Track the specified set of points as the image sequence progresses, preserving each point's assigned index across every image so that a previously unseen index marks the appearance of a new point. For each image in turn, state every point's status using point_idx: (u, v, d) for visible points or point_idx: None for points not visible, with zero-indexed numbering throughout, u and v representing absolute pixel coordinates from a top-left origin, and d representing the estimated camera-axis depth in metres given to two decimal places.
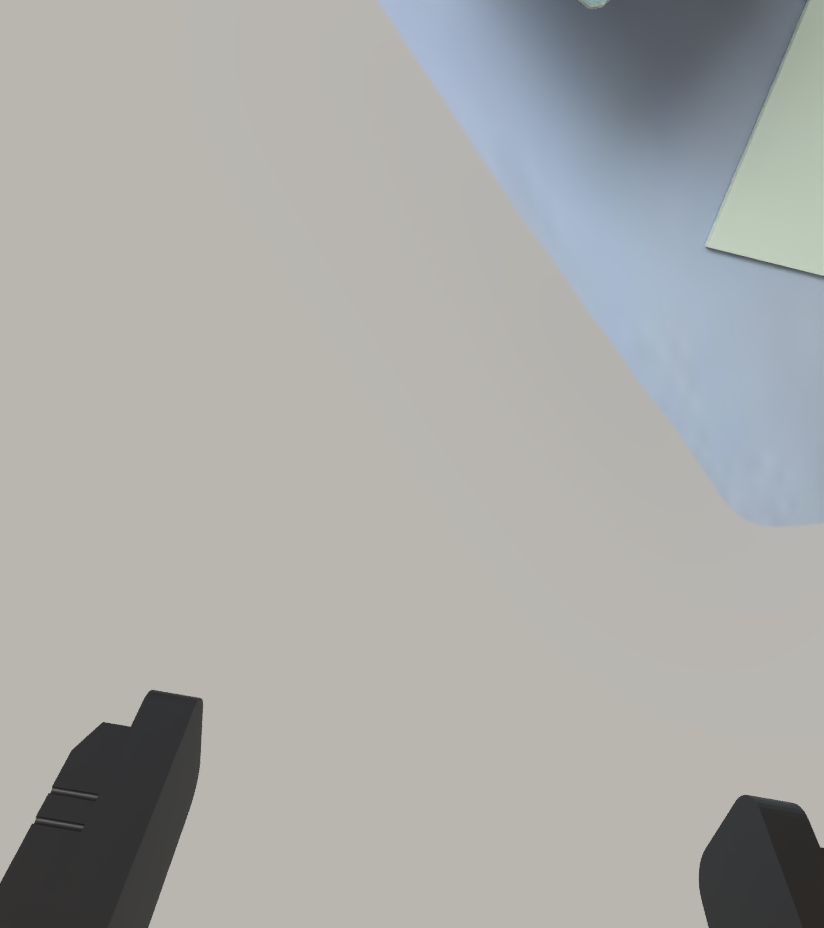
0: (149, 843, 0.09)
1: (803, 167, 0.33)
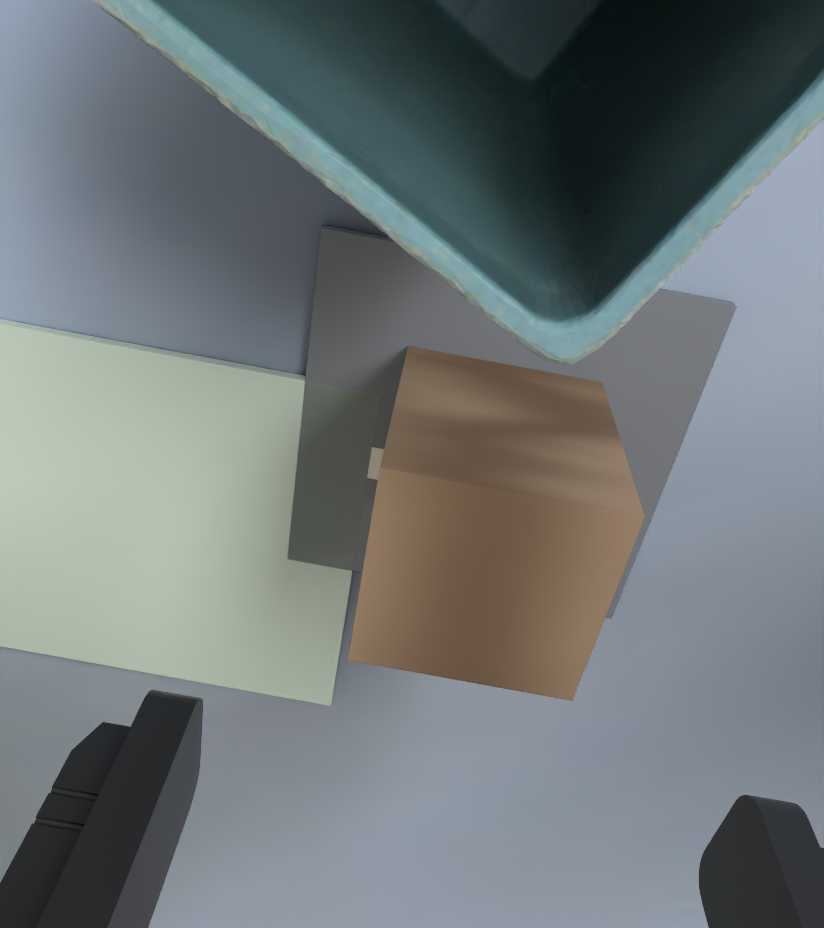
0: (149, 843, 0.09)
1: (87, 425, 0.21)
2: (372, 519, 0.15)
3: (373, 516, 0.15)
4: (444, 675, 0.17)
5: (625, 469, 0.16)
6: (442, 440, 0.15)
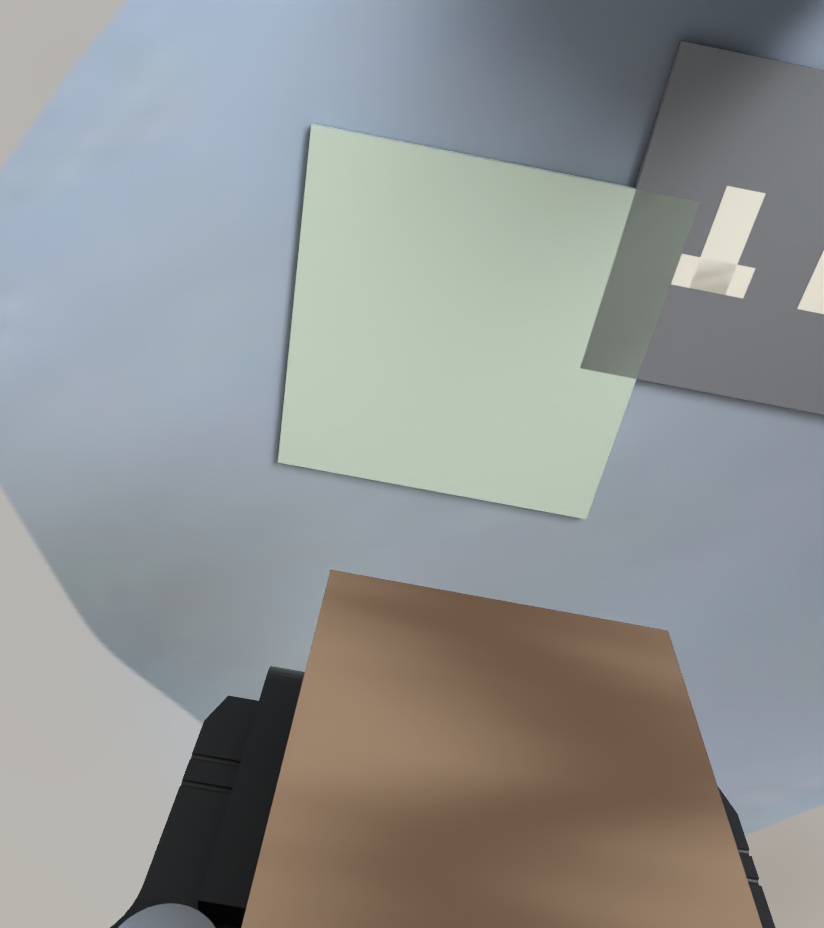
0: None
1: (429, 236, 0.24)
2: None
3: None
4: None
5: None
6: (372, 892, 0.07)
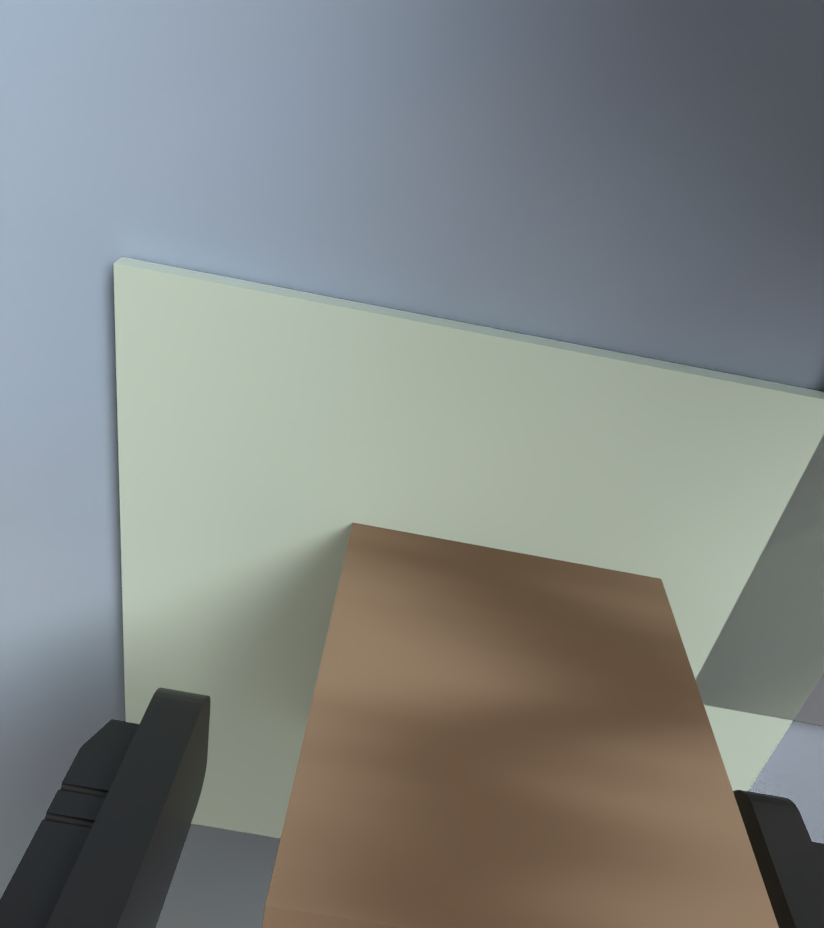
0: (158, 839, 0.09)
1: (386, 481, 0.12)
2: None
3: None
4: None
5: (737, 827, 0.08)
6: (399, 783, 0.08)
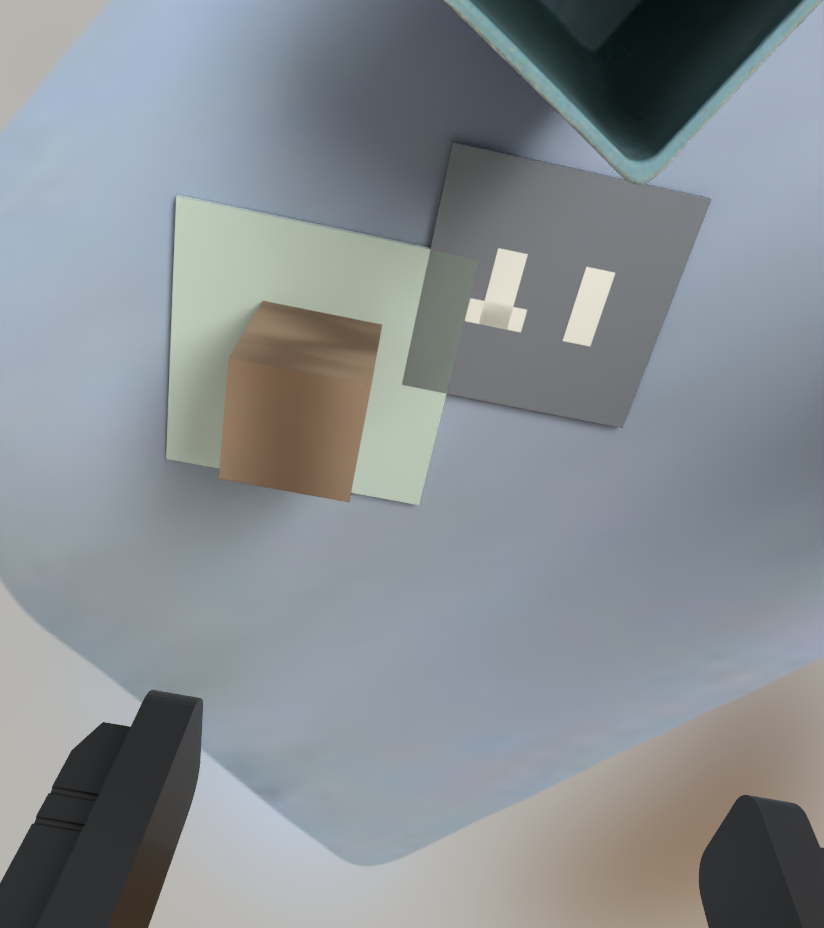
0: (149, 842, 0.09)
1: (275, 282, 0.31)
2: (226, 388, 0.27)
3: (227, 386, 0.27)
4: (275, 487, 0.29)
5: (372, 366, 0.28)
6: (268, 348, 0.28)
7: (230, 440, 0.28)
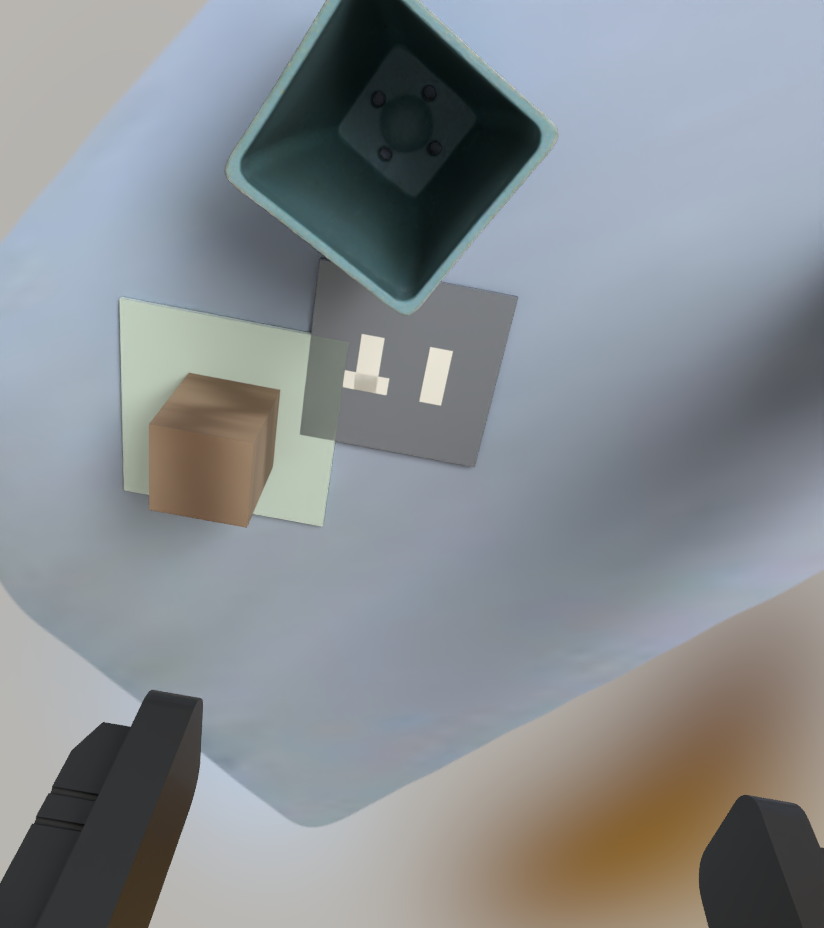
0: (149, 843, 0.09)
1: (197, 359, 0.41)
2: (149, 445, 0.37)
3: (149, 444, 0.37)
4: (191, 516, 0.39)
5: (259, 426, 0.38)
6: (182, 414, 0.37)
7: (155, 482, 0.38)
